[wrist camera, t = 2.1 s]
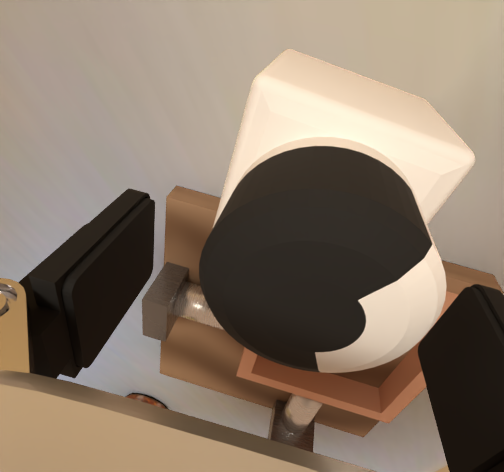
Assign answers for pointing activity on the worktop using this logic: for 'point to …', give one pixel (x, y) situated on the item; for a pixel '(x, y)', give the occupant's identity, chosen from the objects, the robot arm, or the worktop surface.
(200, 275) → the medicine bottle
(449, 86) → the worktop surface
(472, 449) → the robot arm
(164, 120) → the worktop surface
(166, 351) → the square clamping fixture
